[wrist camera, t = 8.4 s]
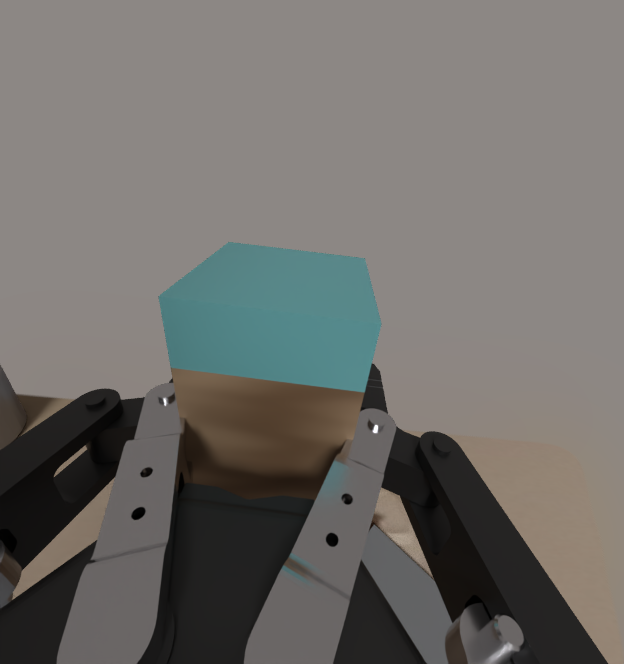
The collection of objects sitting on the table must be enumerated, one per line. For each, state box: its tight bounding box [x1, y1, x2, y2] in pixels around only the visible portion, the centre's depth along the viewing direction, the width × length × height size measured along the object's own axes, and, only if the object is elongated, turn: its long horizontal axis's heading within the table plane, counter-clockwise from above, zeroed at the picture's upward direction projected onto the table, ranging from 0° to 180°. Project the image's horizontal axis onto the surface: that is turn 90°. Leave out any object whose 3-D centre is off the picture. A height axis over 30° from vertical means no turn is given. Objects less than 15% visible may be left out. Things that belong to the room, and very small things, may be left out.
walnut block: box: [159, 242, 381, 500], centre depth 12 cm, size 5×5×12 cm
